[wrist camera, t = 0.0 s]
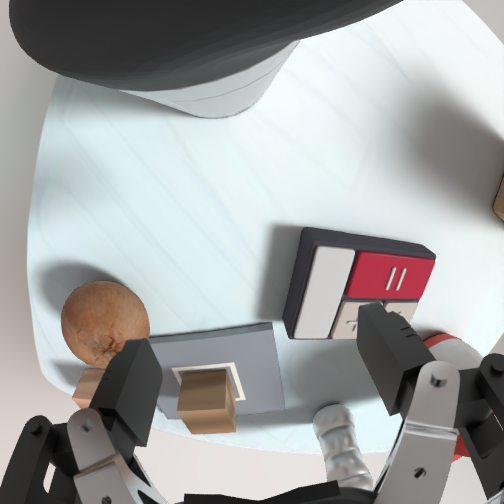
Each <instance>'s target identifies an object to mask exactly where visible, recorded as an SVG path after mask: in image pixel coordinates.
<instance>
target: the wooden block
mask: <svg viewBox="0 0 504 504" xmlns="http://www.w3.org/2000/svg"><path fill="white" fill-rule="evenodd" d="M493 209H494V211H495V213H496V214H497V215H498V216H499V217H500V218H501V219H502V220H503V221H504V177H503V180H502V183H501V186H500V189H499V191H498V194H497V197H496V199H495V202H494V207H493Z"/></svg>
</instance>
